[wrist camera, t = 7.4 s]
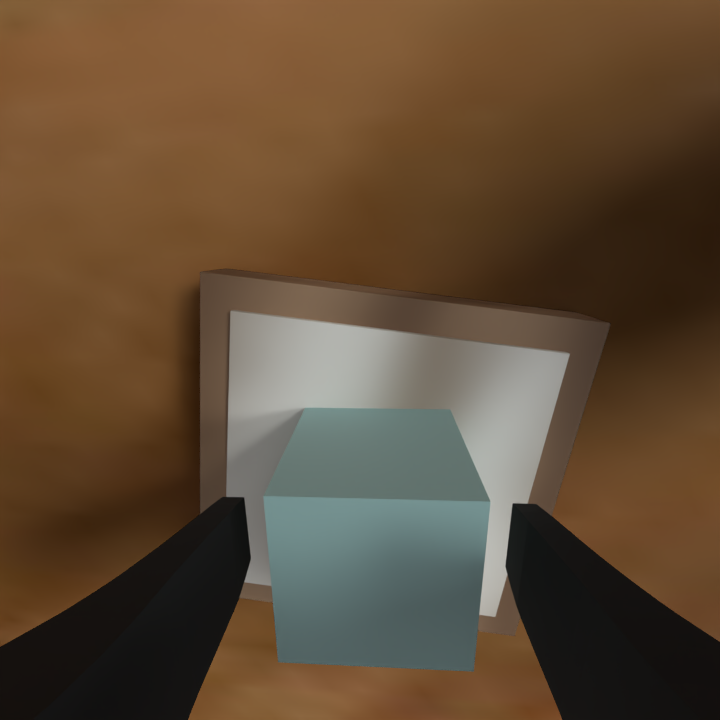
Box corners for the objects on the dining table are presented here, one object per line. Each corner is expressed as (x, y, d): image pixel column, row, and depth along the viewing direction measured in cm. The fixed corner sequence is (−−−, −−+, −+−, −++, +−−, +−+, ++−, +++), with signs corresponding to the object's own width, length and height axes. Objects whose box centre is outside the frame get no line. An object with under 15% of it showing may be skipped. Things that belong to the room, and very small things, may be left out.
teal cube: (450, 409, 12) (490, 502, 7) (442, 531, 13) (473, 671, 9) (305, 407, 12) (263, 496, 8) (311, 527, 13) (278, 662, 9)
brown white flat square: (576, 312, 13) (614, 324, 11) (498, 590, 16) (516, 641, 14) (226, 268, 13) (196, 272, 11) (220, 552, 16) (197, 597, 14)
